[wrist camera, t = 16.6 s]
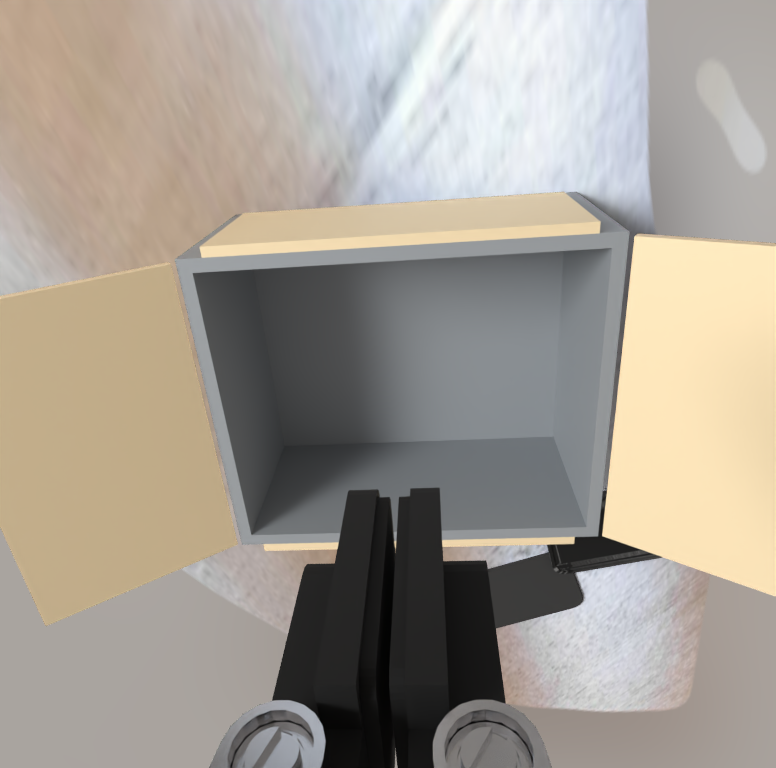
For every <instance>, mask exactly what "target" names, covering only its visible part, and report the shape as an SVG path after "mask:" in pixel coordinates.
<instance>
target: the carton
mask: <svg viewBox="0 0 776 768" xmlns="http://www.w3.org/2000/svg"><path fill="white" fill-rule="evenodd" d="M629 234H630V231H628V230H627V229H626V228H624V227H623V226H622V225H620V224H619V223H618V222H616V221H615V220H614V219H612V218H611V217H609V216H608V215H607V214H605V213H604V212H603V211H601V210H600V209H599V208H597V207H596V206H595V205H593V204H592V203H591V202H589V201H588V200H587V199H585V198H584V197H583V196H581V195H580V194H579V193H577V192H569V193H565V192H553V193H538V194H523V195H508V196H494V197H479V198H464V199H449V200H434V201H419V202H404V203H389V204H374V205H359V206H344V207H329V208H314V209H300V210H285V211H270V212H255V213H243V214H240V215H235V216H233V217H232V218H231V219H229V220H228V221H227V222H225V223H224V224H223V225H221V226H220V227H218V228H217V229H216V230H214V231H213V232H212V233H210V234H209V235H208V236H206V237H205V238H203V239H202V240H201V241H199V242H198V243H197V244H195V245H194V246H193V247H191V248H190V249H189V250H187V251H186V252H184V253H183V254H182V255H180V256H179V257H178V258H176V259H175V262H176V266H177V271H178V275H179V279H180V283H181V288H182V292H183V296H184V300H185V305H186V309H187V313H188V317H189V322H190V326H191V330H192V334H193V339H194V343H195V347H196V351H197V355H198V360H199V364H200V368H201V372H202V377H203V381H204V385H205V389H206V394H207V398H208V402H209V406H210V411H211V415H212V419H213V423H214V428H215V432H216V436H217V440H218V445H219V449H220V453H221V457H222V462H223V466H224V470H225V474H226V479H227V483H228V487H229V491H230V496H231V500H232V504H233V508H234V513H235V517H236V521H237V525H238V530H239V534H240V538H241V542H242V545H246V544H263V545H264V550H265V551H278V550H323V549H338V544H339V538H340V532H341V527H342V521H343V516H344V510H345V505H346V499H347V494H348V491H349V490H372V489H378V490H379V494H380V497H390V499H391V509H392V520H393V531H394V543H395V548H396V538H397V520H398V503H399V497H405V496H410V489H411V488H439V487H440V504H441V527H442V547H459V546H504V545H549V544H574V540H575V537H593V536H598V531H599V522H600V512H601V503H602V493H603V483H604V474H605V464H606V455H607V445H608V435H609V426H610V416H611V407H612V397H613V387H614V378H615V368H616V359H617V349H618V339H619V330H620V320H621V311H622V301H623V291H624V282H625V272H626V263H627V253H628V243H629Z"/></svg>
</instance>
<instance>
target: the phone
mask: <svg viewBox="0 0 776 768" xmlns="http://www.w3.org/2000/svg"><path fill="white" fill-rule="evenodd" d="M488 575H489V582H490V590H491V597H492V605H493V612H494V620H495V627H496V628H499V627H503V626H507V625H510V624H514V623H518V622H522V621H526V620H529V619H533V618H537V617H541V616H544V615H548V614H552V613H556V612H560V611H563V610H567V609H571V608H574V607H577V606H578V605H580V604H581V603H582V600H583V597H582V593H581V591H580V588H579V585H578V583H577V580H576V578H575V575H574V573H569V574H560V573H557V572H556V571H555V570H554V569H553V567H552V564H551V559H550V555H549V552H548V553H545V554H541V555H537V556H534V557H530V558H527V559H523V560H519V561H516V562H512V563H509V564H505V565H502V566H498V567H494V568H491V569H488Z"/></svg>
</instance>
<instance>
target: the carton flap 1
mask: <svg viewBox="0 0 776 768" xmlns="http://www.w3.org/2000/svg"><path fill="white" fill-rule="evenodd" d="M0 528H1V530H2V532H3V534H4V536H5V539H6V541H7V543H8V545H9V547H10V550H11V552H12V554H13V556H14V558H15V560H16V563H17V565H18V567H19V569H20V571H21V573H22V576H23V578H24V580H25V582H26V584H27V587H28V589H29V591H30V593H31V595H32V598H33V600H34V602H35V604H36V606H37V609H38V611H39V613H40V615H41V617H42V619H43V622H44V624H45V626H48V625H50V624H52V623H54V622H57V621H59V620H62V619H64V618H66V617H69V616H71V615H73V614H75V613H78V612H80V611H83V610H85V609H88V608H90V607H92V606H95V605H97V604H99V603H102V602H104V601H106V600H109V599H111V598H113V597H116V596H118V595H120V594H123V593H125V592H127V591H130V590H132V589H134V588H137V587H139V586H141V585H144V584H146V583H148V582H151V581H153V580H156V579H158V578H160V577H163V576H165V575H167V574H170V573H172V572H174V571H176V570H179V569H181V568H184V567H186V566H188V565H191V564H193V563H195V562H198V561H200V560H202V559H205V558H207V557H209V556H212V555H214V554H217V553H219V552H221V551H224V550H226V549H228V548H231V547H233V546H235V545H238V543H237V539H236V535H235V530H234V526H233V522H232V518H231V514H230V509H229V505H228V501H227V497H226V493H225V489H224V484H223V480H222V476H221V472H220V468H219V463H218V459H217V455H216V451H215V447H214V443H213V438H212V434H211V430H210V426H209V422H208V418H207V413H206V409H205V405H204V401H203V397H202V392H201V388H200V384H199V380H198V376H197V372H196V367H195V363H194V359H193V355H192V351H191V347H190V342H189V338H188V334H187V330H186V326H185V321H184V317H183V313H182V309H181V305H180V301H179V296H178V292H177V288H176V284H175V280H174V276H173V271H172V267H171V264H170V263H168V262H167V263H162V264H157V265H152V266H147V267H142V268H137V269H132V270H127V271H122V272H117V273H112V274H107V275H102V276H97V277H92V278H87V279H82V280H77V281H72V282H67V283H62V284H58V285H53V286H48V287H43V288H38V289H33V290H28V291H23V292H18V293H13V294H8V295H3V296H0Z"/></svg>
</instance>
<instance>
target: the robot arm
mask: <svg viewBox="0 0 776 768" xmlns="http://www.w3.org/2000/svg"><path fill="white" fill-rule="evenodd" d="M395 747H396V756H397V765H398V768H552V766H551V763H550V760H549V757H548V754H547V751H546V748H545V745H544V742H543V740H542V738H541V736H540V735H539V733H538V731H537V729H536V727H535V726H534V725H533V723H532V722H531V721H530V720H529V719H528V718H527V717H526V716H525V715H524V714H523V713H521V712H520V711H518V710H517V709H515V708H513V707H512V706H510V705H508V704H506V703H505V695H504V687H503V680H502V672H501V665H500V657H499V650H498V642H497V635H496V627H495V620H494V612H493V605H492V597H491V590H490V582H489V575H488V568H487V563H486V561H443V550H442V527H441V504H440V487H439V488H411V489H410V496H405V497H399V503H398V520H397V538H396V554H395V543H394V531H393V520H392V509H391V499H390V497H380V494H379V490H378V489H372V490H349V491H348V494H347V499H346V505H345V510H344V516H343V521H342V527H341V532H340V538H339V544H338V549H337V555H336V560H335V564H307V565H306V567H305V568H304V572H303V575H302V579H301V583H300V587H299V591H298V595H297V600H296V604H295V608H294V612H293V616H292V620H291V624H290V629H289V633H288V637H287V641H286V645H285V650H284V654H283V658H282V662H281V666H280V670H279V674H278V678H277V683H276V687H275V691H274V695H273V700H272V701H270V702H267V703H264V704H260V705H257V706H256V707H254V708H252V709H251V710H249V711H247V712H246V713H244V714H243V715H242V716H241V717H239V718H238V720H236V721H235V722H234V723H233V724H232V725H231V726H230V728H229V729H228V731H227V733H226V734H225V736H224V738H223V739H222V741H221V743H220V745H219V747H218V749H217V751H216V754H215V756H214V758H213V760H212V762H211V764H210V767H209V768H394V767H395Z"/></svg>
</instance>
